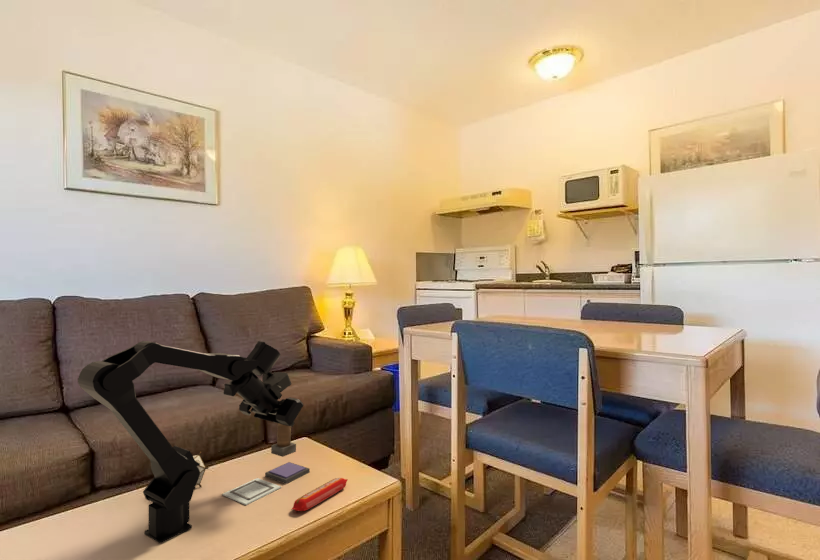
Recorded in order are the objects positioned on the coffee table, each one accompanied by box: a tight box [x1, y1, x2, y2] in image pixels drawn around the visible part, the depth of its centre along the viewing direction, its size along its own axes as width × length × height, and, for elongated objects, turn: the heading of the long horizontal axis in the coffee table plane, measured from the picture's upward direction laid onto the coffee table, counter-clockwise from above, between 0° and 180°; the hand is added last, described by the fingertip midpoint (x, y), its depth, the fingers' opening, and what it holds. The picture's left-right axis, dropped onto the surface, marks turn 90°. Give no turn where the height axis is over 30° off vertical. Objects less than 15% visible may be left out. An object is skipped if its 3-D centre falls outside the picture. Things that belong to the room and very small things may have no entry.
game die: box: [193, 451, 210, 488], centre depth 106 cm, size 9×8×10 cm
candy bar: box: [290, 477, 348, 512], centre depth 100 cm, size 16×4×3 cm, turn 147°
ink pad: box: [264, 461, 311, 485], centre depth 113 cm, size 8×8×1 cm
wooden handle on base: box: [270, 423, 297, 458], centre depth 112 cm, size 4×4×13 cm
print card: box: [222, 477, 282, 506], centre depth 104 cm, size 10×9×1 cm
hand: (288, 423), depth 113 cm, fingers closed on wooden handle on base, 3 cm apart
